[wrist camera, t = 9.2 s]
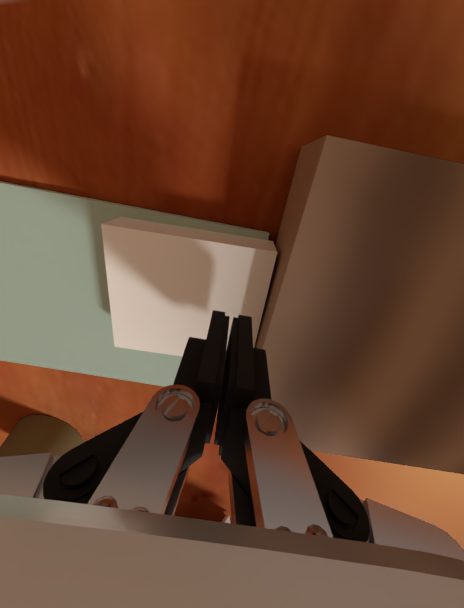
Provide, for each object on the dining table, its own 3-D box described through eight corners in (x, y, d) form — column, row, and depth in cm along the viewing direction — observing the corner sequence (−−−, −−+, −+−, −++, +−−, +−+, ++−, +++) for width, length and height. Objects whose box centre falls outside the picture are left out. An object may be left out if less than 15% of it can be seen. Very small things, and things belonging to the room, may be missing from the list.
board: (695, 228, 12) (882, 251, 8) (480, 428, 20) (531, 484, 16) (301, 146, 11) (326, 135, 8) (237, 389, 19) (235, 439, 15)
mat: (268, 232, 13) (269, 233, 13) (229, 392, 19) (229, 396, 19) (-81, 165, 12) (-91, 165, 12) (-7, 354, 18) (-12, 358, 18)
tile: (272, 241, 13) (277, 252, 11) (249, 345, 16) (249, 366, 14) (121, 216, 13) (101, 224, 11) (128, 327, 16) (114, 346, 14)
